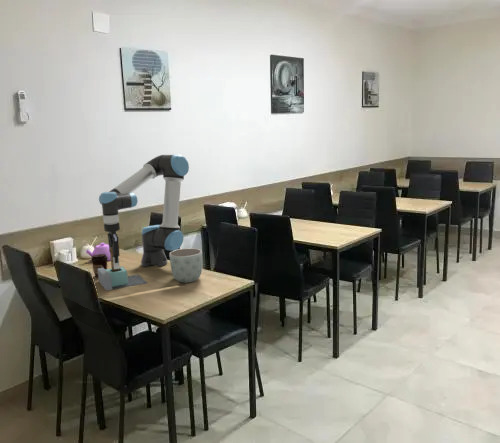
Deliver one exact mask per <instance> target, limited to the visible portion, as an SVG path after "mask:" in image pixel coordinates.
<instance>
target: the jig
mask: <svg viewBox="0 0 500 443" xmlns="http://www.w3.org/2000/svg"><path fill="white" fill-rule="evenodd" d="M127 277H128V284H125V285H119V286H114V287H112V281H111V276H110V274H109V273H108V272H107V271H106V270H105V269H104V268H98V282H99V283H100V285H101V286H102V287H103V288H104V290H105V291H106V292H107V291H111V290H112V291H113V290H117V289H122V288H129V287H134V286H140V285H143V284H144V285H145V284H148V282H147V281H146V280H144V278H143V277H142V276H139V275H138V274H134V275H127Z"/></svg>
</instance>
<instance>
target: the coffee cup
mask: <svg viewBox="0 0 500 443" xmlns="http://www.w3.org/2000/svg"><path fill="white" fill-rule="evenodd" d="M107 258H108V257H107V256H106V254H98V255H93V256H92V257H91V260H90V261H91V263H92V269H93V274H94V277H95V278H96V279H97V278H98V268H104V269H108V261H107Z"/></svg>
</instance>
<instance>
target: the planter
mask: <svg viewBox="0 0 500 443" xmlns="http://www.w3.org/2000/svg"><path fill="white" fill-rule="evenodd" d="M168 255H169V256H168V257H169V261H170V262H169V263H170V270H171V274H172V277H173V278H174V280H175V281H177V282H179V283H182V284H188V282H189V283H193V282H197V280H199V278H200V277H201V274H202V272H203V270H202V268H203V265H202V264H203V251H202V250H201V249H199V248H193V247H191V248H179V249H177V250H174V251H172V250H171V251H170V252H169V253H168Z"/></svg>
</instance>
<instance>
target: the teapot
mask: <svg viewBox="0 0 500 443" xmlns="http://www.w3.org/2000/svg"><path fill="white" fill-rule="evenodd" d="M85 253H86V254H87V255H88V256H90V257H91V258H92V256H93V255H98V254H106V256H107V257H108V258H107V262H111V257H110V252H109V243H108V244H107V243H105V242H100V243H99V244H97V245H95V247H94V249H93V251H90V250H89V249H87V250H85Z"/></svg>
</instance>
